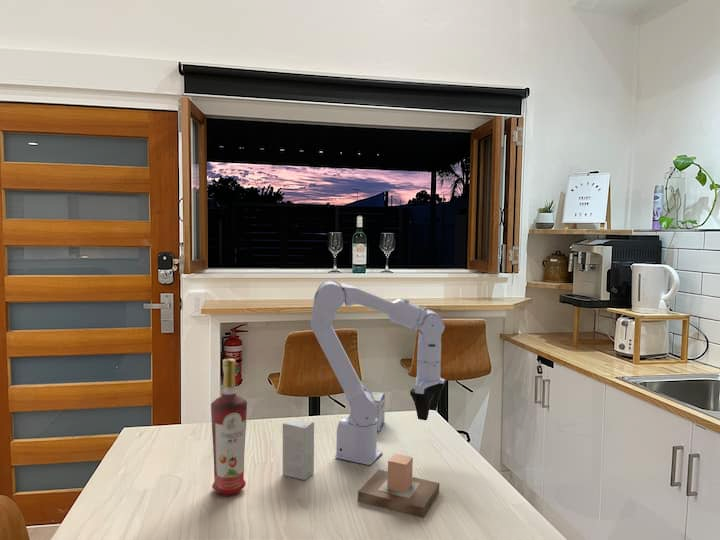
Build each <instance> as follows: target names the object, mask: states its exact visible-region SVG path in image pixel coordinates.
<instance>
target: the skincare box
mask: <svg viewBox="0 0 720 540" xmlns="http://www.w3.org/2000/svg"><path fill="white" fill-rule="evenodd" d="M314 466H315V422H314V421H309V420H305V419H299V418H293V417H292V418H290V419H288V420H287V421H285V422H283V423H282V476H286V477H290V478H294V479H298V480H302V481H306V480H308V478H310V476H312V475H313V474H314V472H315V467H314Z"/></svg>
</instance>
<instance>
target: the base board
mask: <svg viewBox="0 0 720 540" xmlns="http://www.w3.org/2000/svg"><path fill="white" fill-rule="evenodd" d="M387 480H388V470H383V469H378V470H377V471H376V472H375V473H374V474H373V475H372V476H370V478H369V479H368V480H367V481H366V482H365V483H364V485H362V487H361V488H360V489H359V490H358V491H357V501H358V502H361V503H366V504H369V505H373V506H377V507H381V508H384V507H385V509H388V510H393V511H396V512H400V513H405V514H408V515H411V516H416V517H418V518H419V517H420V518H424V517H425V515H426V514H427V512H428V510H429V509H430V507H431V506H432V504H433V503H434V501H435V500H436V498H437V496H438V495H439V493H440V482H436V481H431V480H427V479H422V478H418V477H413V476H412V485H411V487H410V488H409V489H408V491H407V492H406V493H402V492H398V491H394V490H390V489H387Z"/></svg>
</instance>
